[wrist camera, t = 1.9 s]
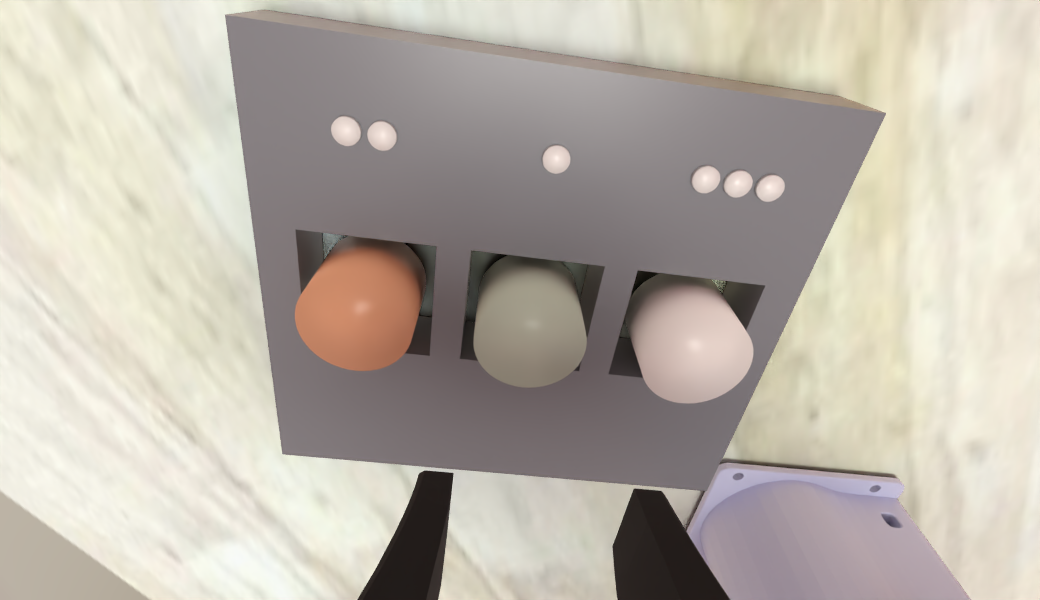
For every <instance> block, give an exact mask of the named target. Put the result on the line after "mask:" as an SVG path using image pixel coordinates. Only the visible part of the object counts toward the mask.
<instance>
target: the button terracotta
mask: <svg viewBox="0 0 1040 600" xmlns="http://www.w3.org/2000/svg"><path fill="white" fill-rule="evenodd" d="M425 291H426V274H425V270H424V267H423V265H422V263H421V261H420V259H419V258H418V256H417V255H416V254H415V253H414V252H413V251H412V250H411V249H410V248H409V247H408V246H407V245H405V244H404V243H403V242H397V241H388V240H380V239H372V238H363V237H355V236H348V237H346V238H344V239H342V240H341V241H339V242H338V243H337V244H336V245H335V246H334V247H333V248H332V249H331V251H330V252H329V254H328V255H327V257H326V258H325V260H324V261H323V263H322V264H321V266H320V267H319V269H318V270H317V272H316V273H315V274H314V276H313V277H312V279H311V280H310V282H309V283H308V285H307V286H306V288H305V289H304V291H303V292H302V294H301V295H300V297H299V299H298V301H297V304H296V308H295V322H296V327H297V330H298V332H299V334H300V336H301V338H302V340H303V341H304V343H305V344H306V345H307V346H308V348H309V349H310V350H311V351H312V352H314V353H315V354H316V355H317V356H319V357H320V358H321V359H323V360H325V361H326V362H328V363H330V364H332V365H335V366H338V367H340V368H344V369H348V370H354V371H371V370H377V369H381V368H384V367H387V366H389V365H391V364H393V363H394V362H396V361H397V360H398V359H400V358H401V357H402V356H403V355H404V354H405V352H406V351H407V349H408V348H409V345H410V343H411V340H412V337H413V333H414V329H415V326H416V322H417V319H418V315H419V312H420V308H421V305H422V301H423V298H424V294H425Z"/></svg>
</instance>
